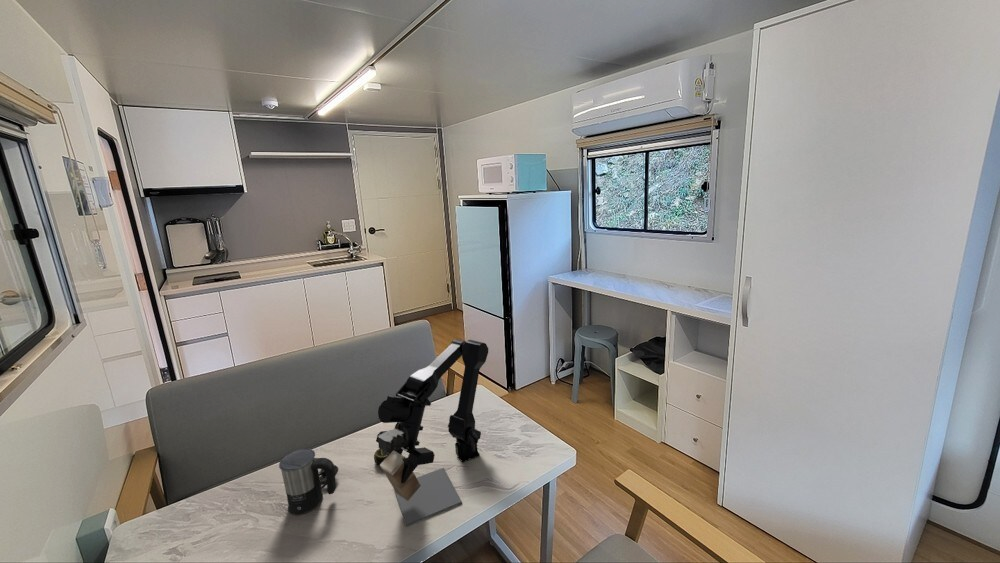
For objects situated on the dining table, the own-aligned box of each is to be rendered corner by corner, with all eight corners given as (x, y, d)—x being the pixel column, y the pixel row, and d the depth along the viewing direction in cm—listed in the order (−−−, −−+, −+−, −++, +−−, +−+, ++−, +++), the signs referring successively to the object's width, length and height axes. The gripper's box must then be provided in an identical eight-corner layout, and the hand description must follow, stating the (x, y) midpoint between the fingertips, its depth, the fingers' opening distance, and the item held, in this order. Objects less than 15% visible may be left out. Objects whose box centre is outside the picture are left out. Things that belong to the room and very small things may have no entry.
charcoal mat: (443, 469, 122) (443, 467, 122) (461, 503, 108) (461, 501, 108) (393, 487, 115) (393, 486, 115) (406, 526, 101) (405, 524, 101)
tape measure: (396, 465, 125) (395, 455, 124) (374, 470, 123) (373, 460, 122) (395, 452, 132) (394, 443, 131) (374, 457, 130) (373, 447, 129)
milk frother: (286, 520, 105) (277, 474, 102) (290, 483, 119) (282, 441, 116) (341, 501, 111) (334, 457, 108) (339, 468, 125) (332, 428, 122)
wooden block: (409, 478, 111) (393, 450, 105) (420, 485, 108) (404, 456, 102) (396, 493, 108) (379, 465, 102) (408, 501, 105) (390, 472, 99)
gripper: (367, 411, 106) (352, 469, 103) (410, 433, 94) (394, 499, 92) (399, 411, 114) (385, 464, 112) (441, 431, 103) (427, 491, 101)
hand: (396, 478), depth 104 cm, fingers closed on wooden block, 5 cm apart
